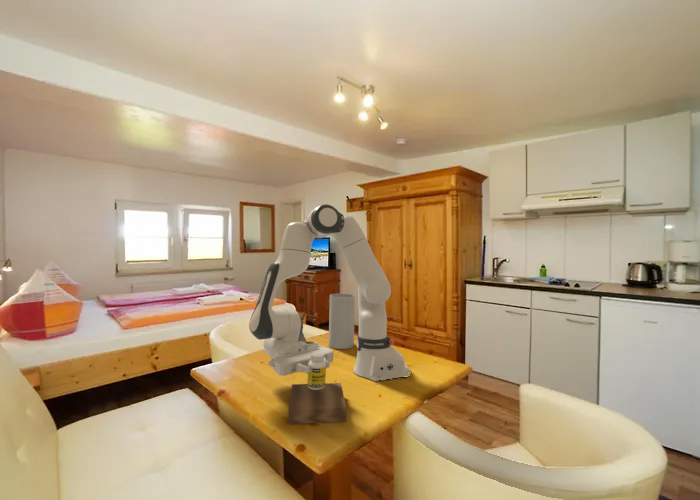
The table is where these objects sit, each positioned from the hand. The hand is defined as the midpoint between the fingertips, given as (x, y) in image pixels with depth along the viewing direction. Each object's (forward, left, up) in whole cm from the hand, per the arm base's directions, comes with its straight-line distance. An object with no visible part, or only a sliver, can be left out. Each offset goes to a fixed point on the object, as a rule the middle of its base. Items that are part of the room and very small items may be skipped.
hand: (318, 368), depth 95 cm
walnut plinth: (0, -1, -13) cm, 13 cm away
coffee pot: (+8, -58, -13) cm, 60 cm away
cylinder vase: (-13, -61, -13) cm, 63 cm away
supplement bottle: (+1, -1, -6) cm, 6 cm away
